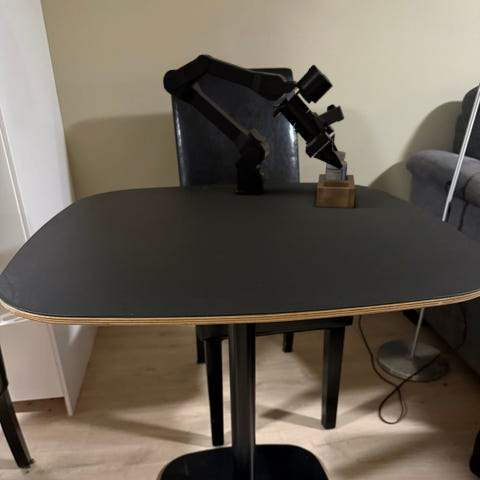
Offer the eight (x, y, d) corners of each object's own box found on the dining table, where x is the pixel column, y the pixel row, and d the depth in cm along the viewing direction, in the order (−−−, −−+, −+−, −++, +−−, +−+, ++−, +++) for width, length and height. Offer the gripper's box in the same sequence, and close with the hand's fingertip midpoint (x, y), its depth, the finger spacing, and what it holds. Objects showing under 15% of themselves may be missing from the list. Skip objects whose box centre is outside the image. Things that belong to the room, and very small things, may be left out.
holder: (316, 206, 117) (317, 187, 114) (318, 190, 131) (319, 173, 129) (353, 207, 115) (355, 188, 113) (351, 191, 129) (353, 174, 127)
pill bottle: (333, 187, 129) (337, 149, 124) (349, 191, 125) (353, 152, 121) (319, 190, 126) (322, 152, 121) (335, 194, 122) (338, 154, 118)
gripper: (323, 95, 107) (367, 148, 110) (329, 90, 123) (367, 137, 126) (286, 131, 113) (330, 181, 116) (297, 123, 129) (334, 167, 132)
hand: (342, 165), depth 122 cm, fingers closed on pill bottle, 5 cm apart
